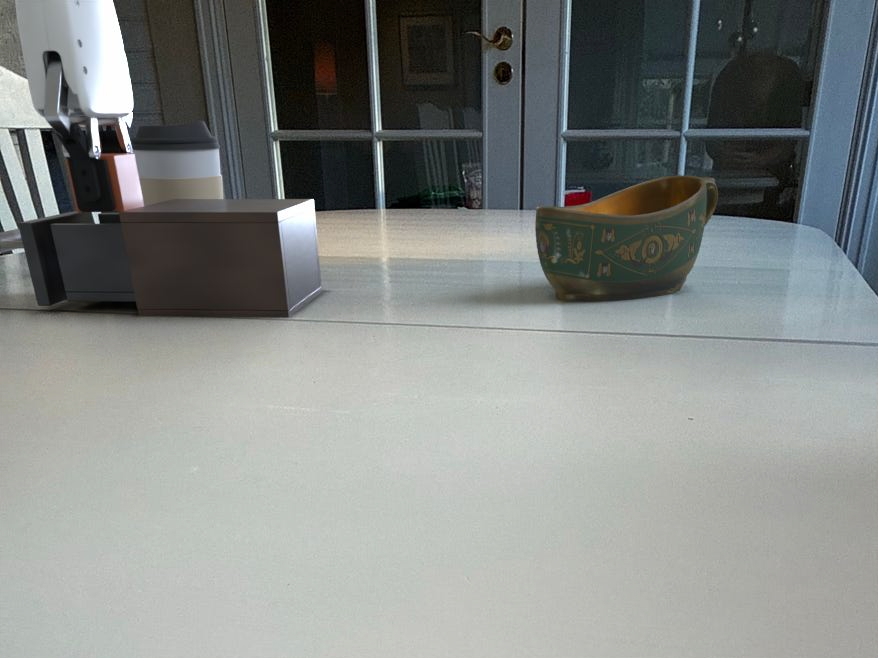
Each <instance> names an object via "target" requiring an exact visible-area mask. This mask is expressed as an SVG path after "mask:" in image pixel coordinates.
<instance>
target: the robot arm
mask: <svg viewBox="0 0 878 658" xmlns="http://www.w3.org/2000/svg"><path fill="white" fill-rule="evenodd" d="M14 6H15V7H14V8H15V14H16V21H17V29H18V34H19V40H20V46H21V52H22V58H23V64H24V68H25V74H26V80H27V83H28V88H29V94H30V97H31V102H32V106H33V108H34V110H35V111H36V113H37V114H39V115H40V116H41V117H42V118H44V119H45V121H46V122H47V124H49V127H51V129H52V130H53V131H54V132H55V135H56V136H57V138H58V140H59V141H60V143H61V149H62V154H63V157H64V159H65V158H66V159H67V160H68V165H69V169H70V174H71V178H72V183H73V188H74V192H75V197H76V201H77V206H78V209H79V210H80V211H83V212H87V211H113V210H115V201H114V196H113V191H112V186H111V181H110V176H109V171H108V166H107V161H106V159H100V156H101V154H104V153H133V150H132V147H131V146H132V142H131V139H130V135H131V125H132V122H133V112H132V111H133V109H134V96H133V95H134V94H133V89H132V82H131V77H130V71H129V65H128V60H127V56H126V51H125V47H124V43H123V38H122V33H121V29H120V25H119V21H118V16H117V13H116V8H115V4H114V2H113V0H14ZM104 127H105V130H104ZM82 128H85V132H84V131H83V129H82Z"/></svg>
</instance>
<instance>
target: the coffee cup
mask: <svg viewBox="0 0 878 658" xmlns="http://www.w3.org/2000/svg"><path fill="white" fill-rule="evenodd" d="M130 142H131V147H132V153H134V154H135V159H136V165H137V170H138V176H139V181H140V186H141V192H142V197H143V203H144V206H147V205H152V204H156V203H160V202H165V201H169V200H173V199H224V185H223V184H224V183H223V175H222V174H221V161H220V149H221V146H220V144H219V143H218V138H217V136H215V135H214V136H213V135H212V134H211V132H210V130H209V128H208V127H207V124H206V123H205V121H204V120H194V121H192V122H190V124H161V125H160V124H159V125H157V124H156V125H139V126H138V129H137V133H136V136H135V137H131V139H130Z"/></svg>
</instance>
